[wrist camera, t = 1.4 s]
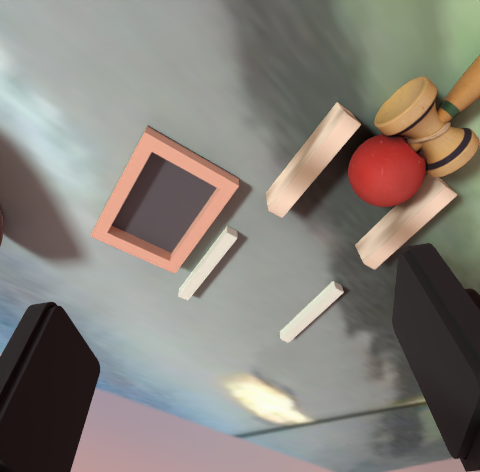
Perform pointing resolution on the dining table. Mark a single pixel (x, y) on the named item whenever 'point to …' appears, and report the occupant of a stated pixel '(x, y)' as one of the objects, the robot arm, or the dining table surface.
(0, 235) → the tin
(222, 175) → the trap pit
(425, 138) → the kendama
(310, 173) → the lane
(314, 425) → the dining table surface
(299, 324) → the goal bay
